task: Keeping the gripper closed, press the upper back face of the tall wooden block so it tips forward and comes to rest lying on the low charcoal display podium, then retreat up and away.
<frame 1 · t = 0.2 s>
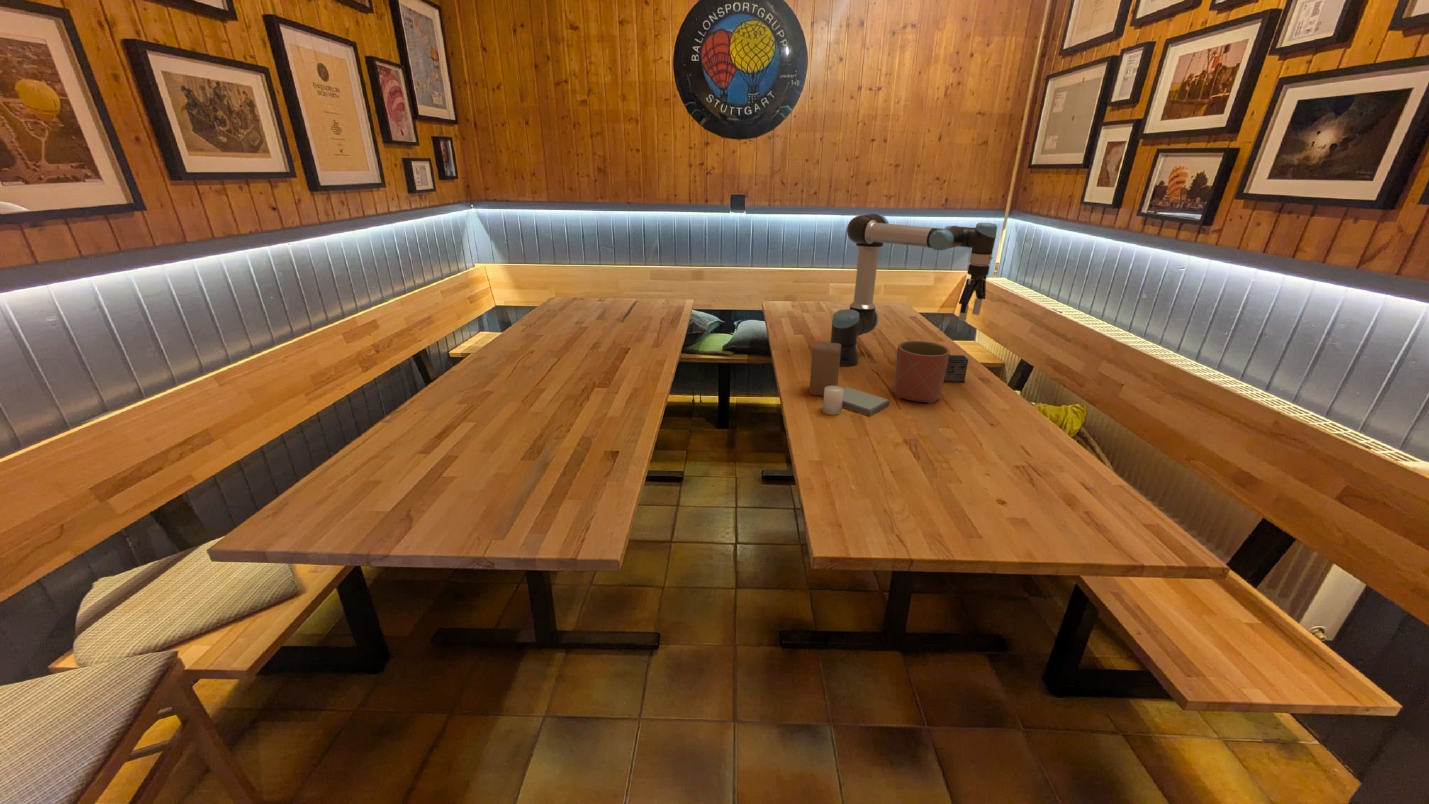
hand: (968, 317, 226), 28 cm above the table, fingers open, 13 cm apart
podium: (857, 403, 214), on the table
small box: (949, 380, 239), on the table
planter: (915, 396, 222), on the table
wooden block: (823, 392, 225), on the table
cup: (832, 411, 208), on the table
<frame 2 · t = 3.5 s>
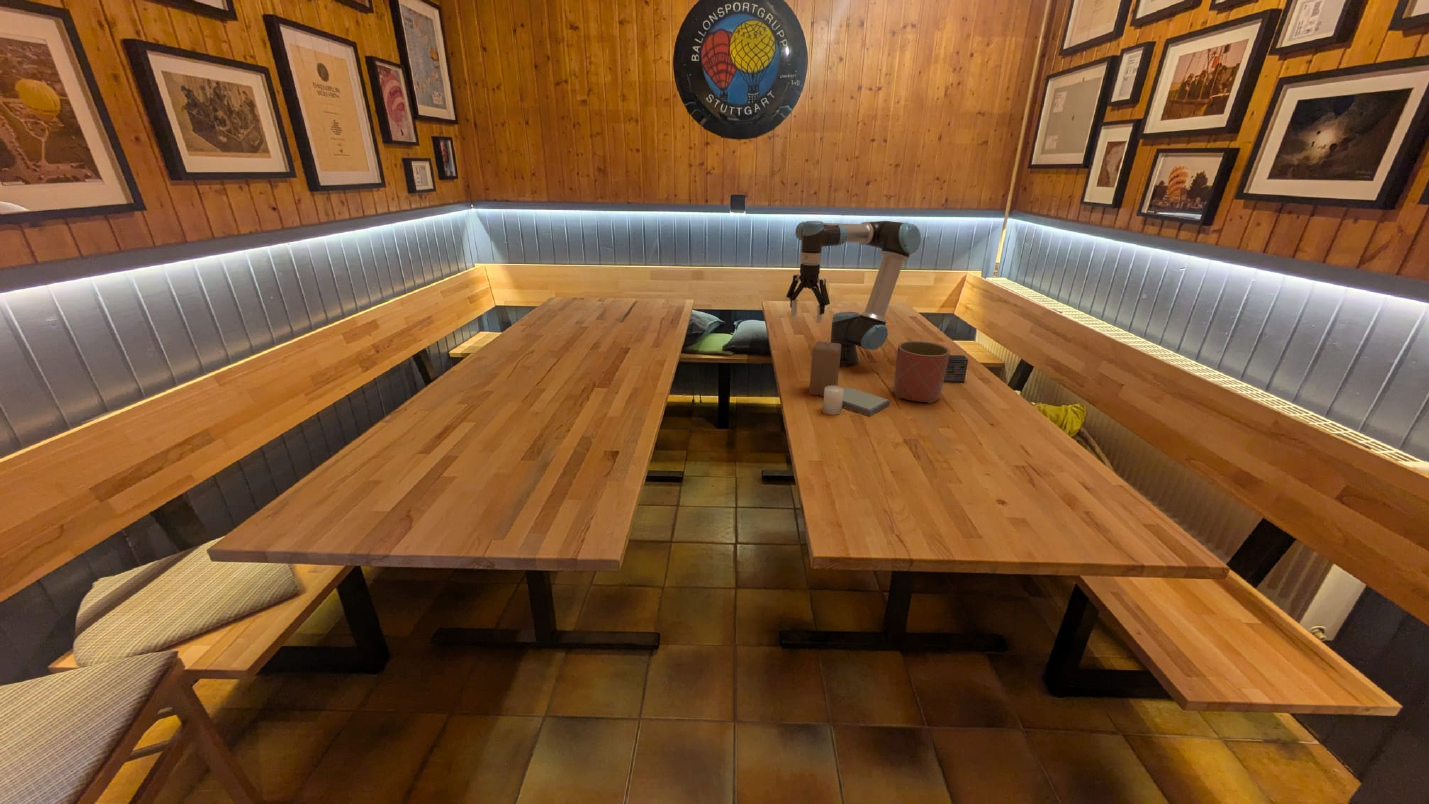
hand: (806, 319, 220), 28 cm above the table, fingers open, 12 cm apart
nothing on the table moved.
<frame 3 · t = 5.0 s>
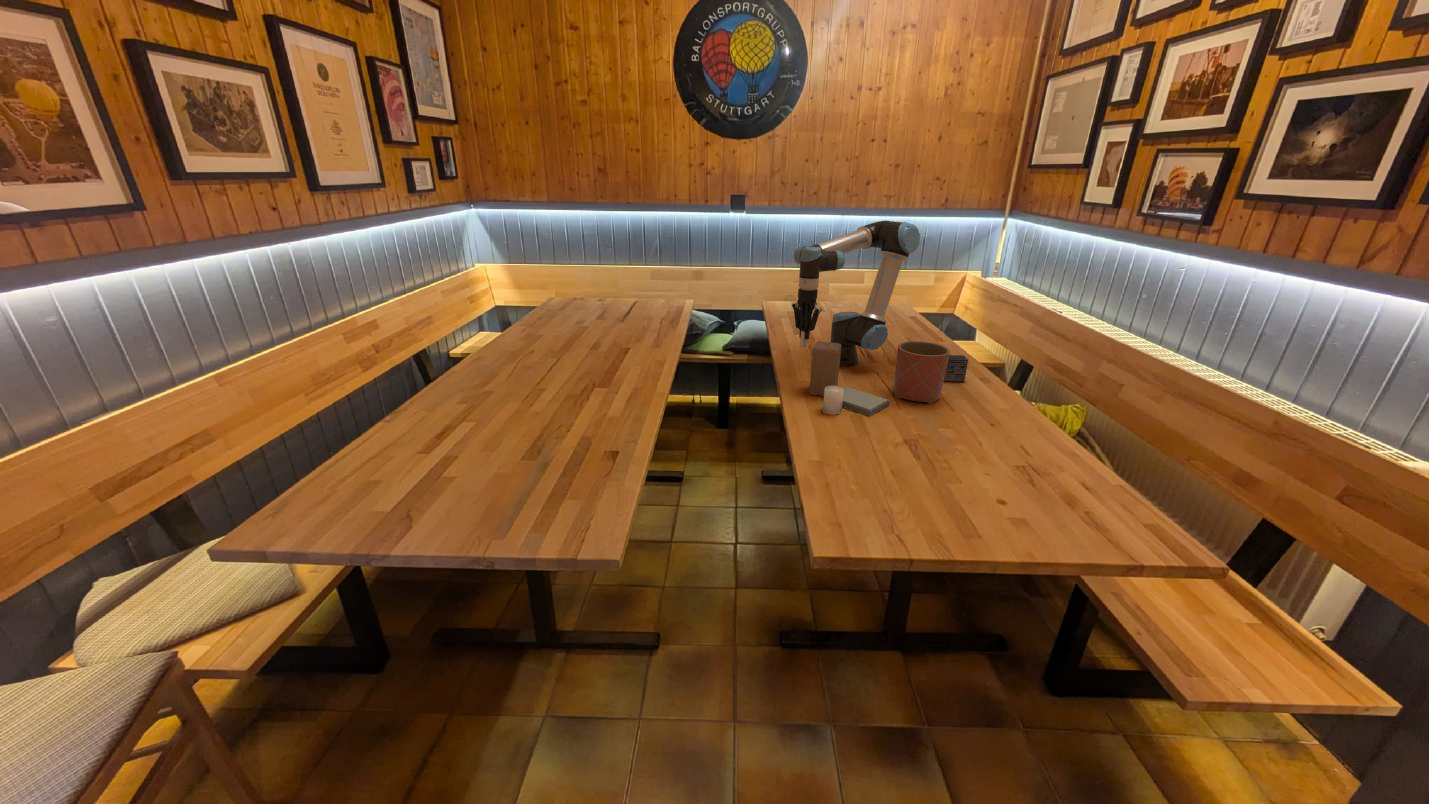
hand: (803, 346, 225), 17 cm above the table, fingers closed
nothing on the table moved.
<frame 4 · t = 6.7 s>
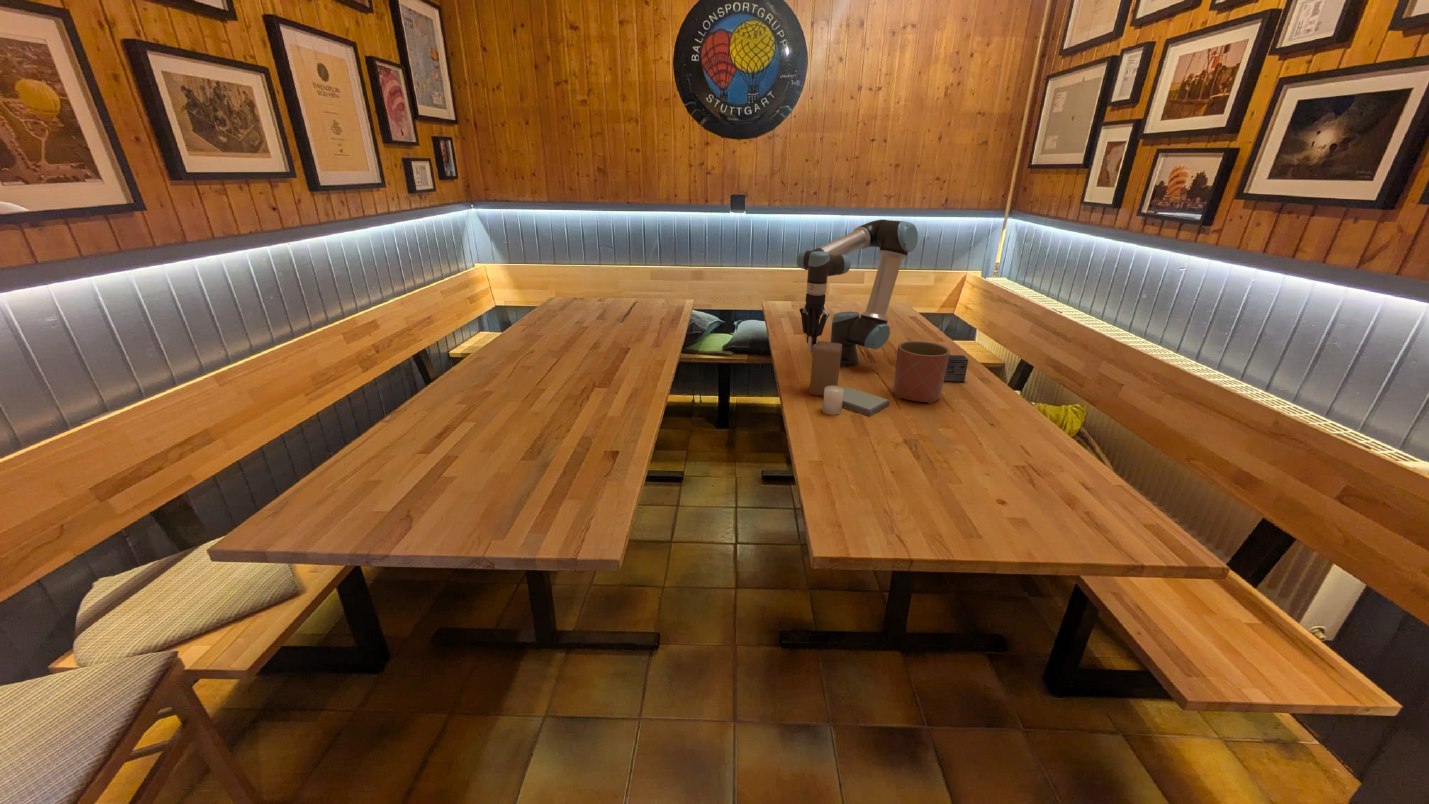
hand: (810, 351, 223), 16 cm above the table, fingers closed
wooden block: (823, 392, 225), on the table, touching gripper
everything else where it was.
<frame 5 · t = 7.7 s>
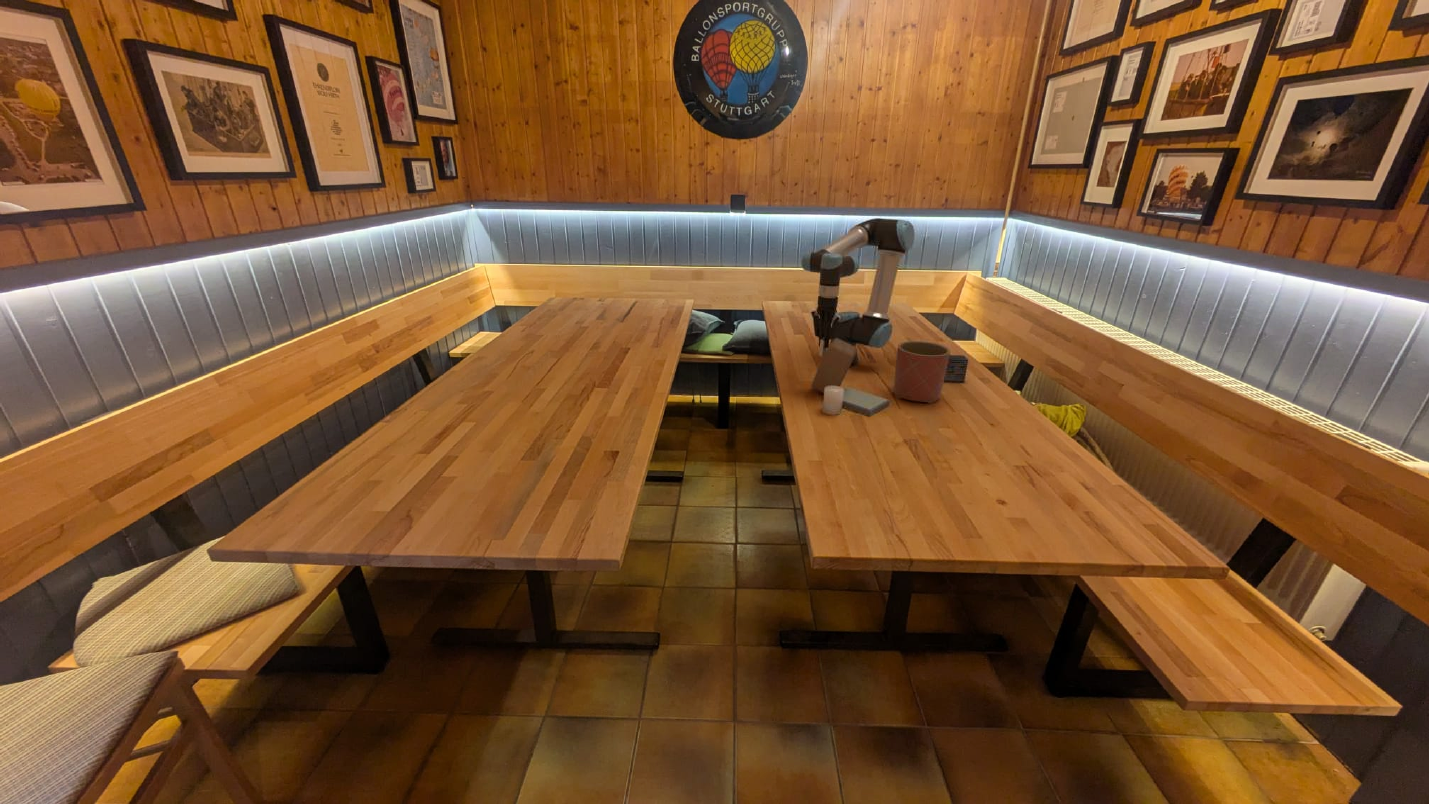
hand: (822, 354, 219), 16 cm above the table, fingers closed
wooden block: (824, 388, 224), point 2 cm above the table, touching gripper, podium
everything else where it was.
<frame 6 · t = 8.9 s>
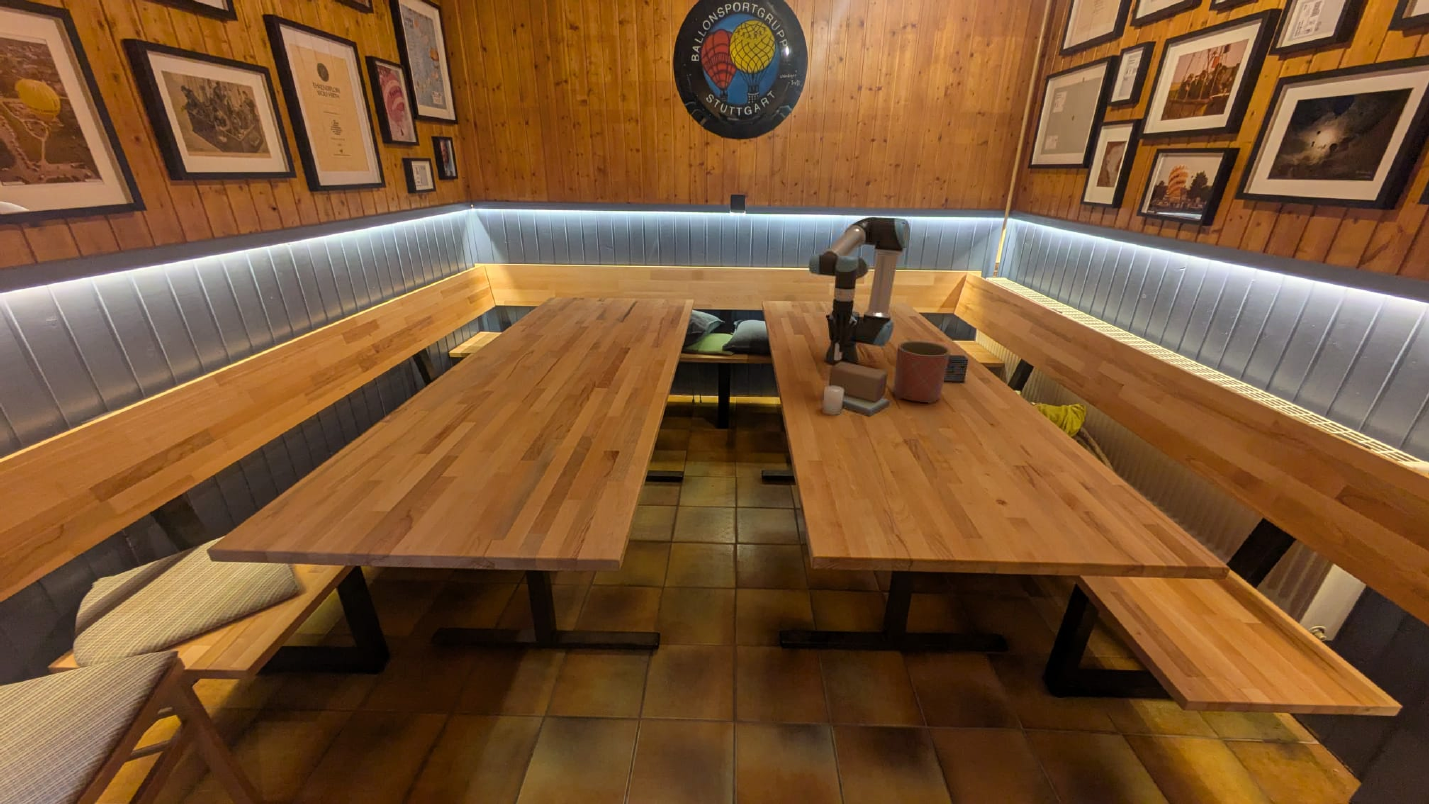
hand: (837, 359, 215), 16 cm above the table, fingers closed
wooden block: (833, 375, 221), point 7 cm above the table, touching podium
everything else where it was.
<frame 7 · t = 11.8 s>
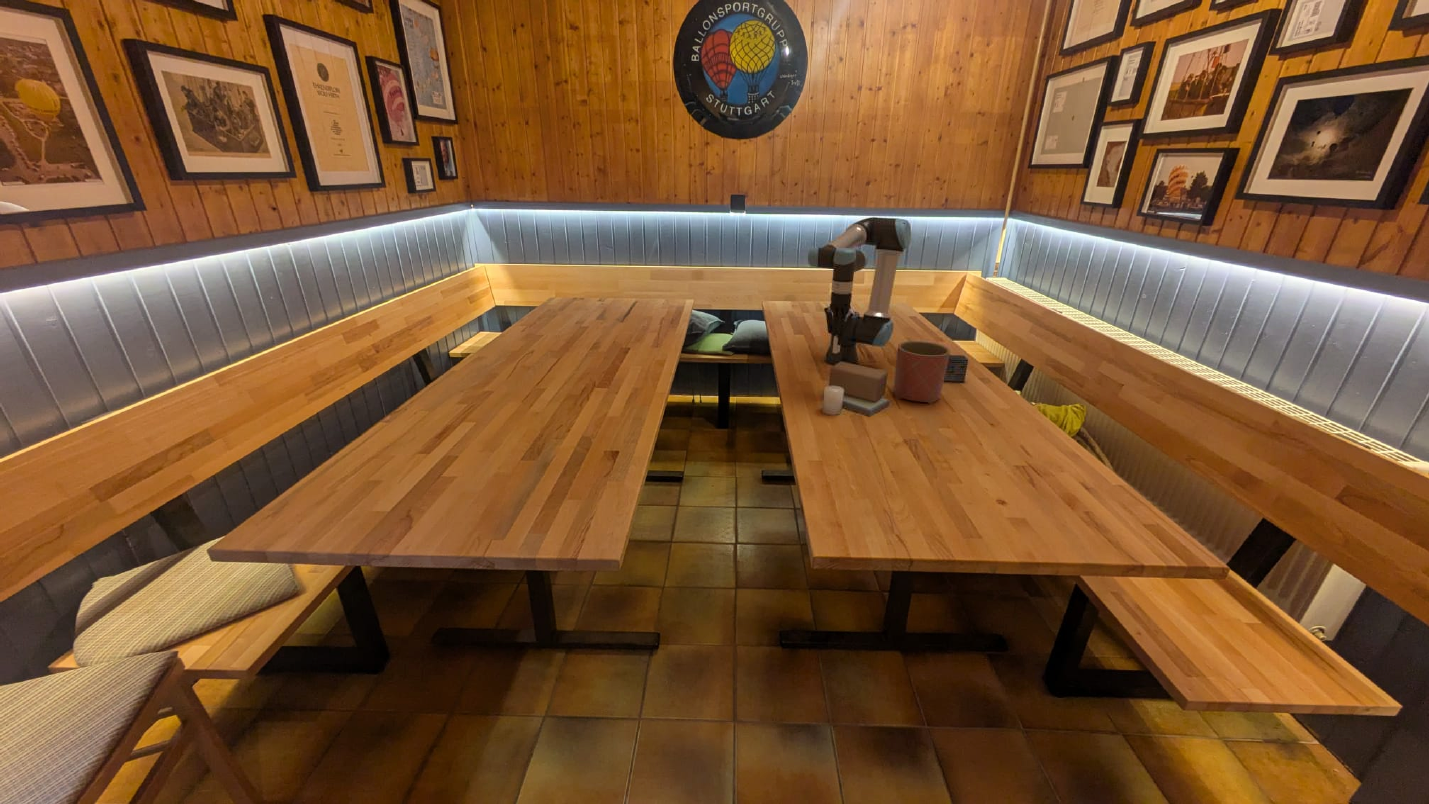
hand: (836, 352, 215), 18 cm above the table, fingers closed
nothing on the table moved.
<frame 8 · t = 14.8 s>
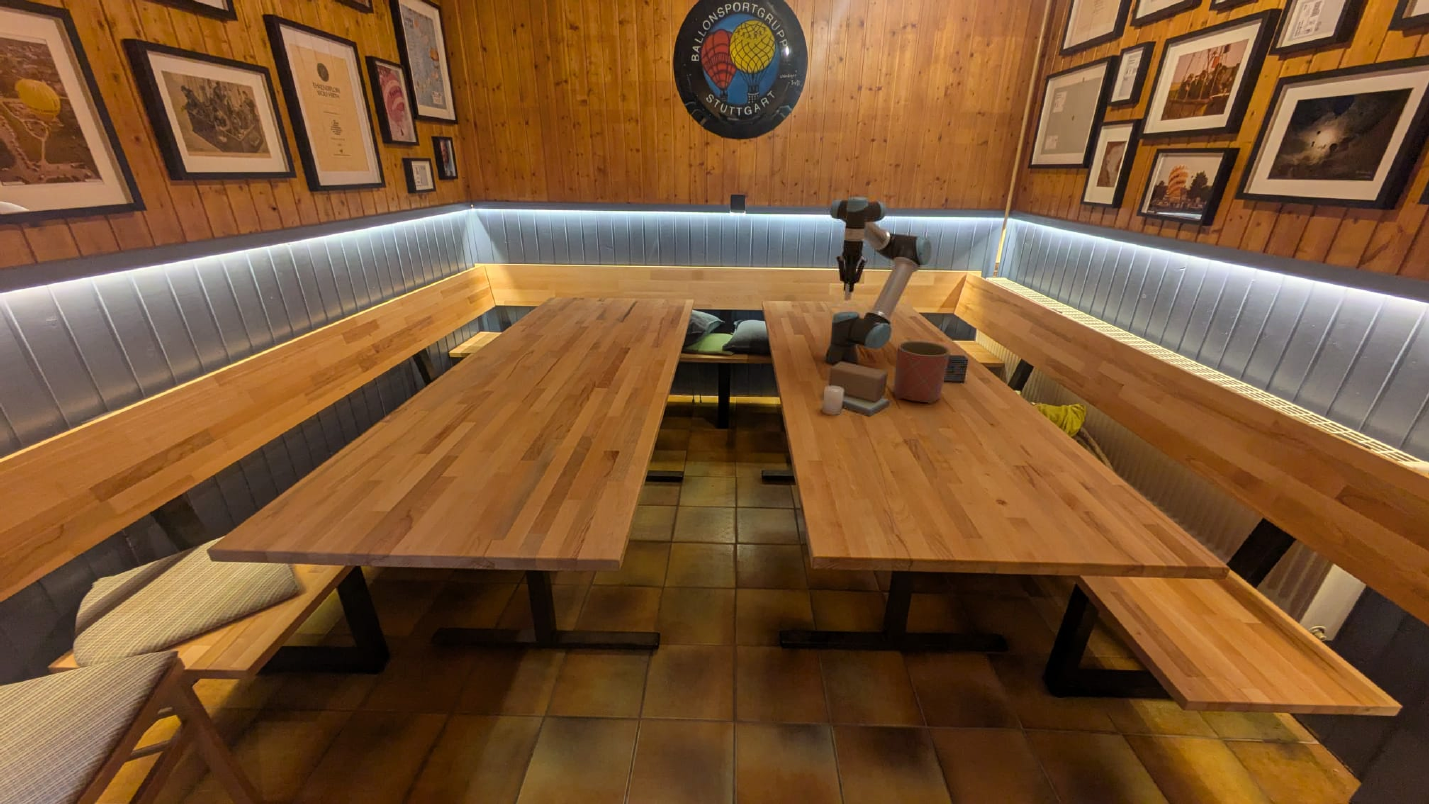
hand: (847, 299, 225), 34 cm above the table, fingers closed
nothing on the table moved.
at the end: wooden block tilted 90°; wooden block touching podium; wooden block inside the target area (10.0 cm from its centre), point 7.5 cm above the table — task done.
